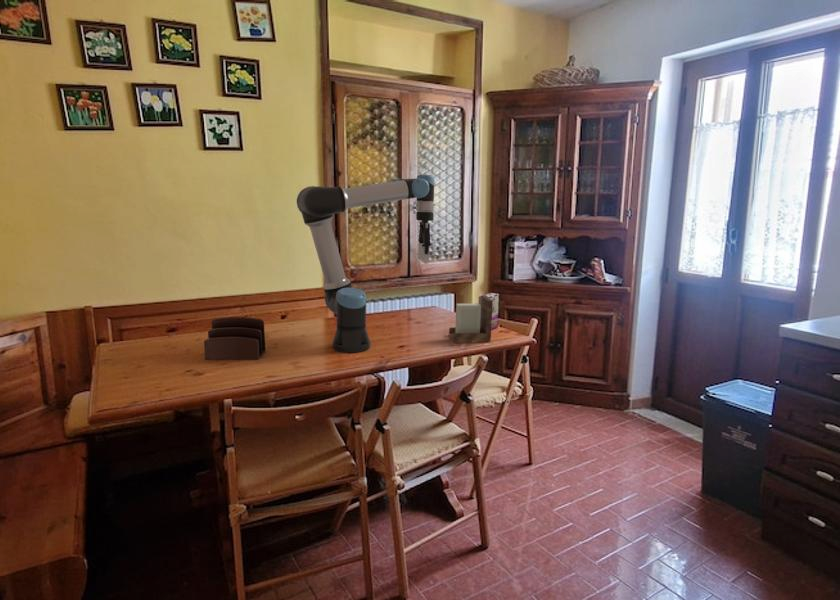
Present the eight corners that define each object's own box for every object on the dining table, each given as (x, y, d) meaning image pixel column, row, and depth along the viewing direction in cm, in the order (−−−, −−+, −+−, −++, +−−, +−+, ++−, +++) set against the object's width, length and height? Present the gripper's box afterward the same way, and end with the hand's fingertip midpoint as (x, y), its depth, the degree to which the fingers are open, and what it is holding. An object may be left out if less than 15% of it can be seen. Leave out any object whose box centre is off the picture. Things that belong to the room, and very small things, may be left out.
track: (453, 342, 215) (455, 300, 211) (449, 335, 226) (450, 295, 222) (490, 341, 217) (492, 300, 213) (484, 334, 228) (486, 295, 224)
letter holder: (214, 351, 196) (211, 316, 193) (266, 352, 197) (264, 316, 194) (204, 360, 186) (202, 323, 183) (259, 360, 187) (257, 323, 185)
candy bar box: (488, 326, 243) (490, 292, 240) (497, 327, 240) (499, 293, 237) (476, 330, 235) (478, 295, 231) (486, 332, 232) (487, 297, 228)
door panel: (457, 337, 218) (458, 305, 215) (455, 334, 222) (456, 303, 220) (479, 337, 220) (481, 305, 217) (477, 334, 224) (478, 303, 221)
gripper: (438, 212, 210) (436, 263, 214) (429, 210, 234) (428, 256, 238) (420, 212, 209) (418, 263, 213) (413, 210, 233) (412, 256, 237)
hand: (423, 259), depth 226 cm, fingers open, 13 cm apart
